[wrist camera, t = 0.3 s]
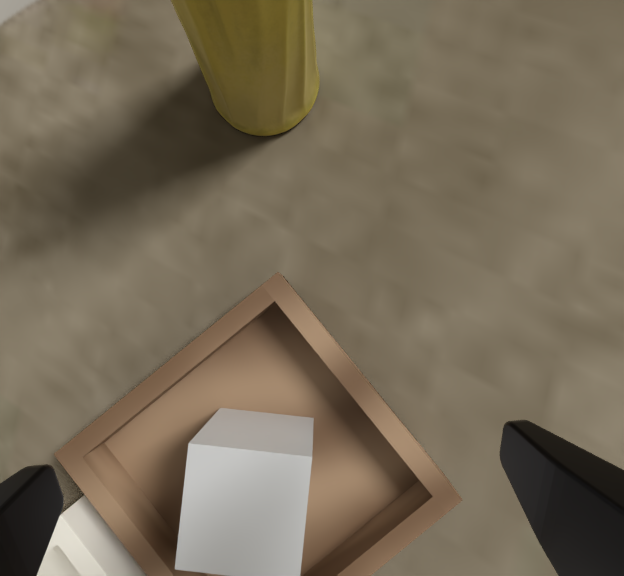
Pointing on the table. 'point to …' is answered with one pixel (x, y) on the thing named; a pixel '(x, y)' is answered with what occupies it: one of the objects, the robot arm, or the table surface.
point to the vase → (255, 59)
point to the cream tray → (86, 546)
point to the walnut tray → (269, 399)
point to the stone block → (246, 495)
